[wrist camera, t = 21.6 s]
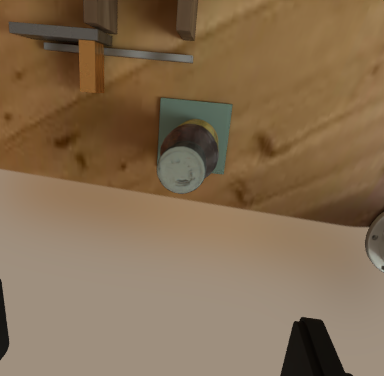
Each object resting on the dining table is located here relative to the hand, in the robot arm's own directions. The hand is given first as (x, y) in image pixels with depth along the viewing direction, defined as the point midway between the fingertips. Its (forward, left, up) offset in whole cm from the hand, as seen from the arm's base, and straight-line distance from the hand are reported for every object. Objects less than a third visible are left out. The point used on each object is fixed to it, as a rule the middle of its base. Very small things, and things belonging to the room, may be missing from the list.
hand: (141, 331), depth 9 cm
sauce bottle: (+1, 0, -36) cm, 36 cm away
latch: (+19, -9, -36) cm, 42 cm away
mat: (+2, -1, -36) cm, 36 cm away
